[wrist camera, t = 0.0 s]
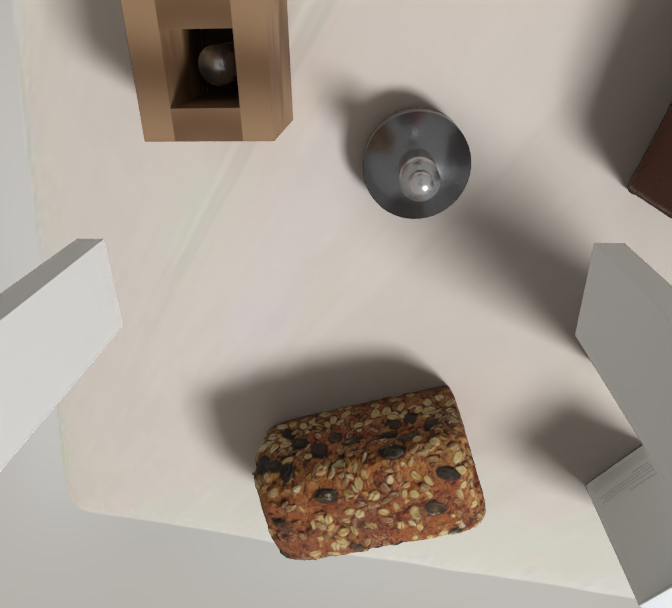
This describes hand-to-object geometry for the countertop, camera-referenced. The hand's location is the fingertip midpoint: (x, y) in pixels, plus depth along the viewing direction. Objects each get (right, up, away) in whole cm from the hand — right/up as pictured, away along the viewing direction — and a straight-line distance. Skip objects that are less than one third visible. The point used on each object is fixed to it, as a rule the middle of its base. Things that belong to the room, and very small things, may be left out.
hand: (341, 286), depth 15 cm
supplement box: (+29, -18, +39) cm, 51 cm away
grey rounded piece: (-7, +17, +24) cm, 30 cm away
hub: (+6, +10, +26) cm, 28 cm away
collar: (-7, +17, +24) cm, 30 cm away
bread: (+3, -14, +39) cm, 41 cm away
